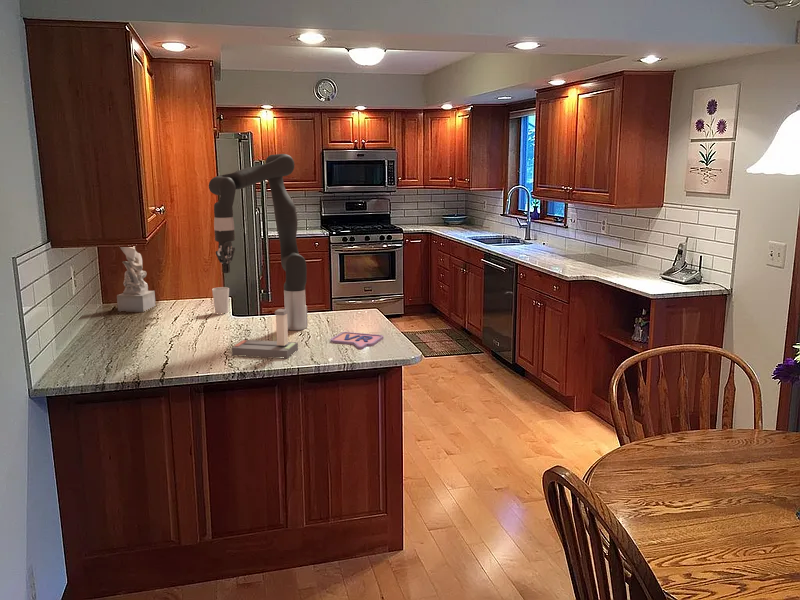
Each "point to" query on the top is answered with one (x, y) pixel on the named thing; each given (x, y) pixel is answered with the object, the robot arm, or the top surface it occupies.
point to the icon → (357, 339)
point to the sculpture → (135, 285)
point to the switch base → (264, 348)
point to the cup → (221, 299)
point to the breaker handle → (281, 326)
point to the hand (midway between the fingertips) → (226, 272)
